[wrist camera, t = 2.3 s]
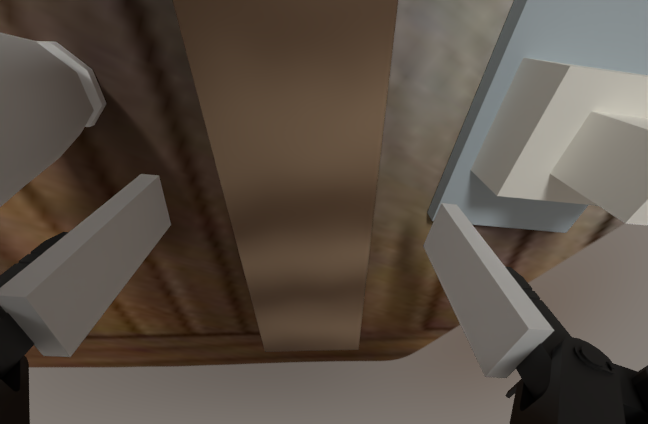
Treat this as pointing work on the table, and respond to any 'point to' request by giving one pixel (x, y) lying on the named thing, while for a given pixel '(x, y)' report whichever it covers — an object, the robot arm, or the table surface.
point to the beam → (296, 151)
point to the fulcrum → (557, 119)
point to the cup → (40, 107)
